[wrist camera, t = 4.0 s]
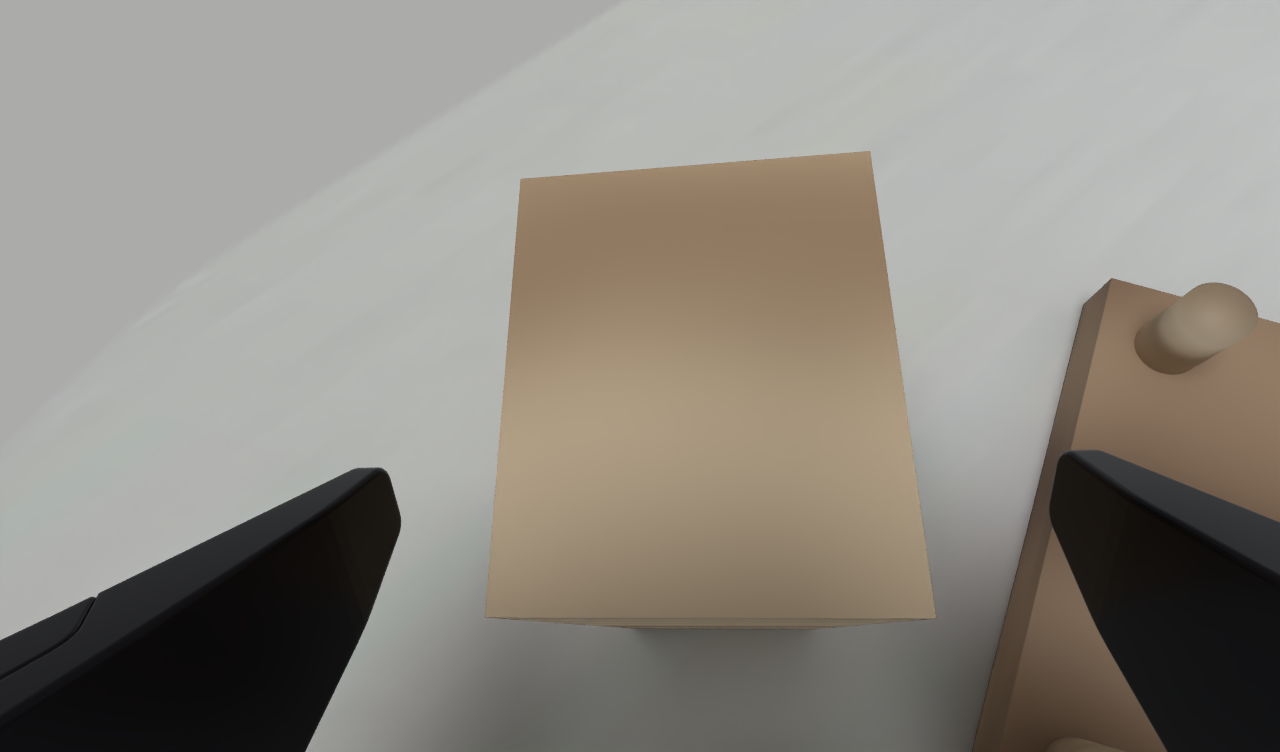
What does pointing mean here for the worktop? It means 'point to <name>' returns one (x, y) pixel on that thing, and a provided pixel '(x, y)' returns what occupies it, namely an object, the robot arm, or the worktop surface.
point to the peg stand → (1154, 439)
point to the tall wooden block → (705, 404)
